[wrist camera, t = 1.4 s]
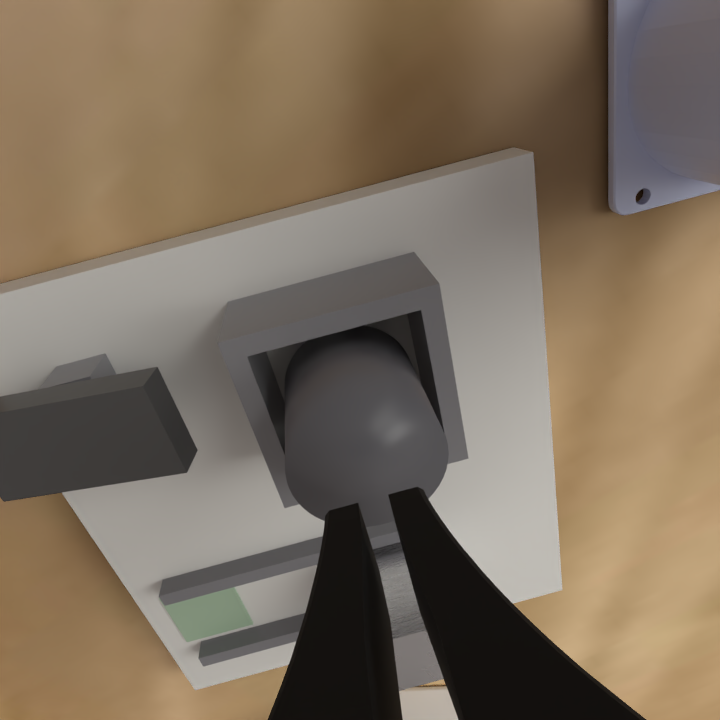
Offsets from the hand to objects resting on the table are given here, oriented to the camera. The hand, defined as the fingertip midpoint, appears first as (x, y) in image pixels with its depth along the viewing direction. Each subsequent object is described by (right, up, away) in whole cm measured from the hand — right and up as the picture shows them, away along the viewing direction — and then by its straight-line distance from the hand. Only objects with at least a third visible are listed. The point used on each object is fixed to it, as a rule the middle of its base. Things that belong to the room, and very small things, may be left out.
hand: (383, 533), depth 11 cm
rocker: (-9, +1, +4) cm, 10 cm away
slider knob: (+1, -5, +12) cm, 13 cm away
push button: (-1, +3, +5) cm, 6 cm away
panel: (-2, -1, +11) cm, 11 cm away
